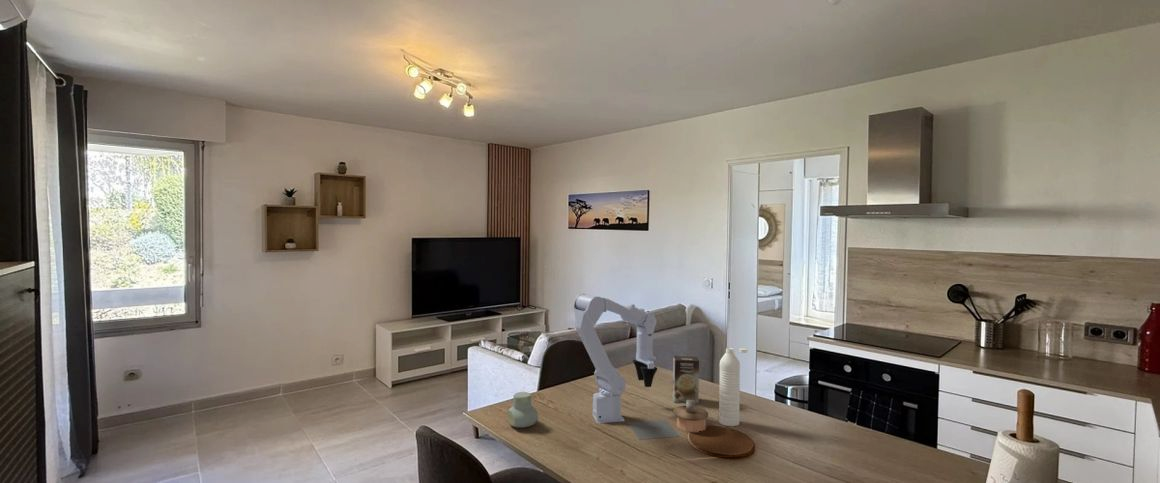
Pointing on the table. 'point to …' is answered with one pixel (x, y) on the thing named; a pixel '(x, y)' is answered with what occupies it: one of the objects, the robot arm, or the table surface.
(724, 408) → the water bottle
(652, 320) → the robot arm
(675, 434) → the mat
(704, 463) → the table surface
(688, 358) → the coffee box
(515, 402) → the air freshener
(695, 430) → the bowl
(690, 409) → the lid
